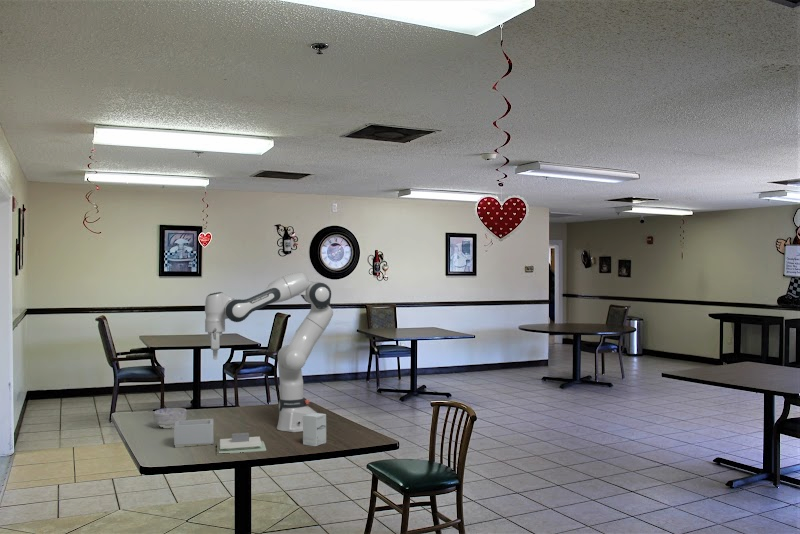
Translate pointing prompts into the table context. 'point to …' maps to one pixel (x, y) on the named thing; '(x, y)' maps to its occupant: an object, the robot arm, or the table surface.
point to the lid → (240, 442)
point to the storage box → (194, 432)
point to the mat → (258, 448)
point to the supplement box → (314, 429)
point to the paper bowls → (169, 416)
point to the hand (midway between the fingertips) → (215, 358)
